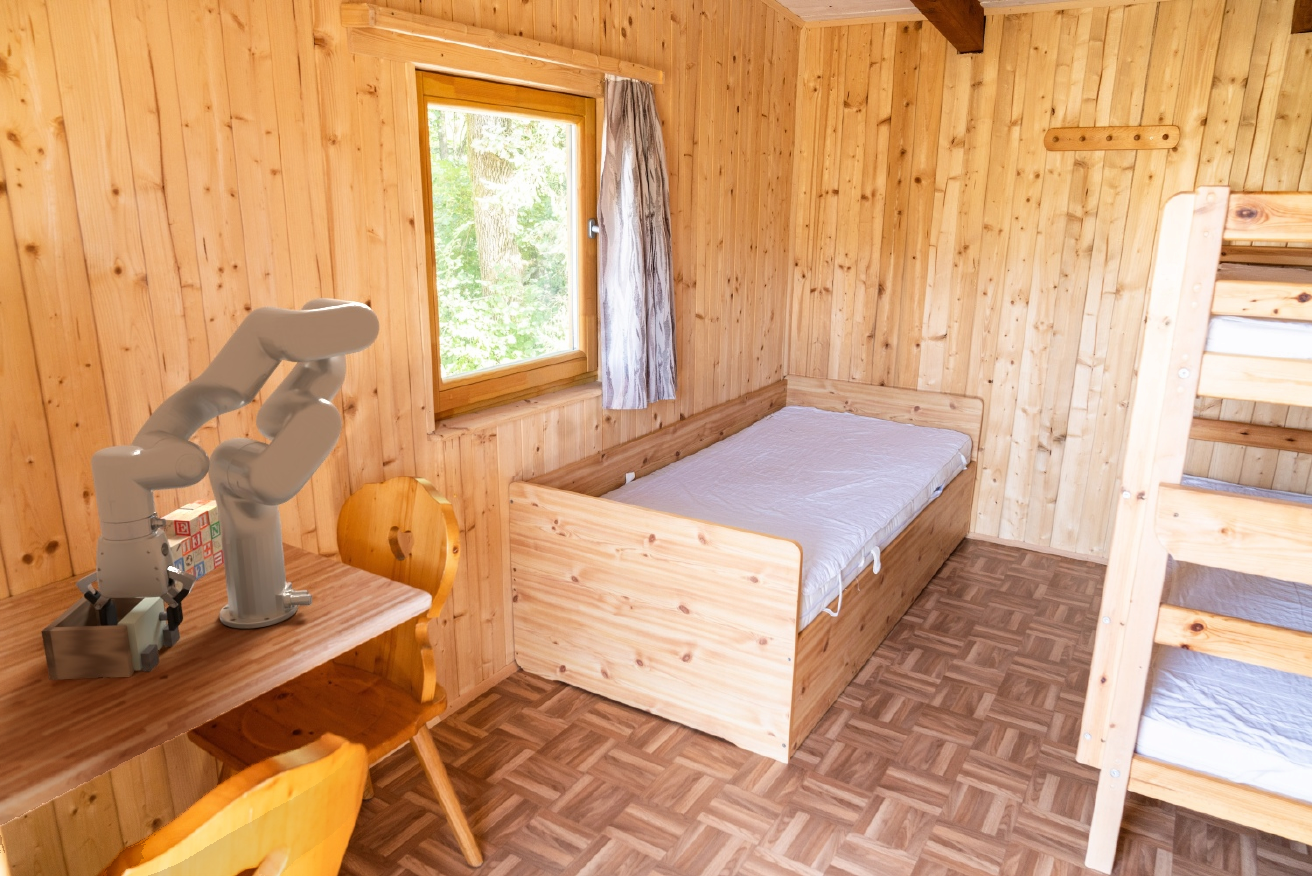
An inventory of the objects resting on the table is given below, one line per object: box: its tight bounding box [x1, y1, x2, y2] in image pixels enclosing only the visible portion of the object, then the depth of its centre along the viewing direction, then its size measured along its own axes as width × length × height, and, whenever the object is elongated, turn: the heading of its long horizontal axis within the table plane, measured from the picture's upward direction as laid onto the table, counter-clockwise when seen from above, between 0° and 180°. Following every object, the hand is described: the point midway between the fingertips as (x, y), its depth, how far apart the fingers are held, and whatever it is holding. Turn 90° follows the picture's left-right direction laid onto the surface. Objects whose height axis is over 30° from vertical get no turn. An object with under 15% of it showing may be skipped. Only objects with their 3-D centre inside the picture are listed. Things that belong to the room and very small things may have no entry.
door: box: [118, 597, 168, 671], centre depth 143 cm, size 3×10×8 cm, turn 6°
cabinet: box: [41, 595, 181, 681], centre depth 142 cm, size 14×14×8 cm
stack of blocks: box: [159, 499, 224, 592], centre depth 172 cm, size 21×6×12 cm, turn 173°
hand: (143, 628), depth 142 cm, fingers open, 9 cm apart
